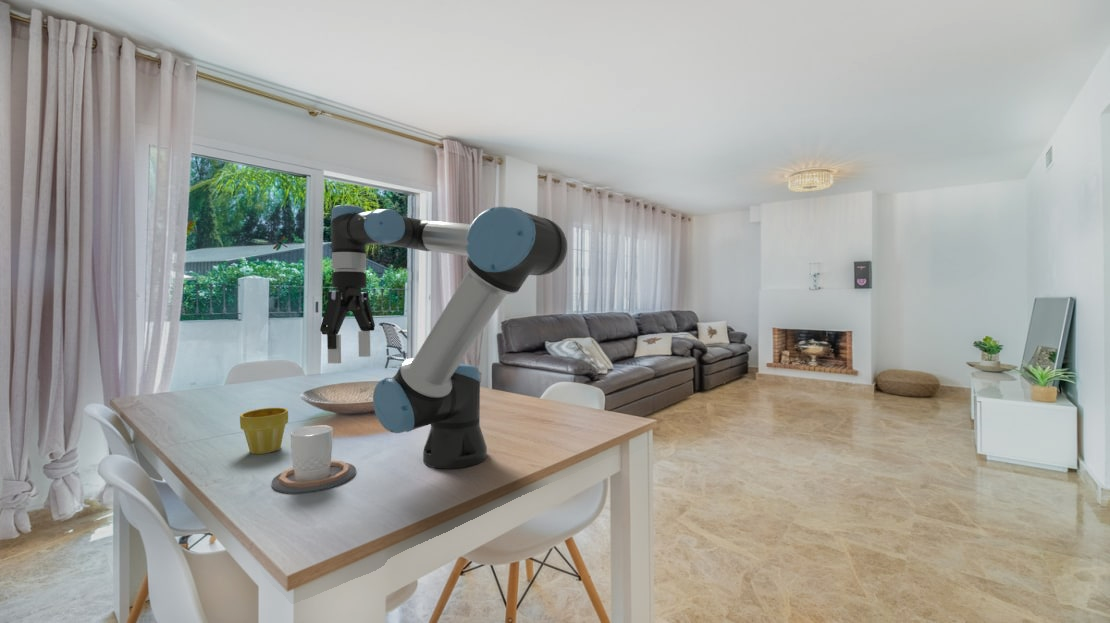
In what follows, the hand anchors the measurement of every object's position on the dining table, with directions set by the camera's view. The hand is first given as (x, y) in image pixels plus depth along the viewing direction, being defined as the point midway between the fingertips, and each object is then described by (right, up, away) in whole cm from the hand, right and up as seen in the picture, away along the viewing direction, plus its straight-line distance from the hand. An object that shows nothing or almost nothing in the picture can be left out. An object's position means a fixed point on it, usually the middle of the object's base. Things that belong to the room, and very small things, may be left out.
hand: (350, 359), depth 109 cm
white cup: (-2, -24, -13) cm, 27 cm away
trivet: (-2, -24, -11) cm, 27 cm away
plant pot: (-25, -24, +6) cm, 35 cm away
